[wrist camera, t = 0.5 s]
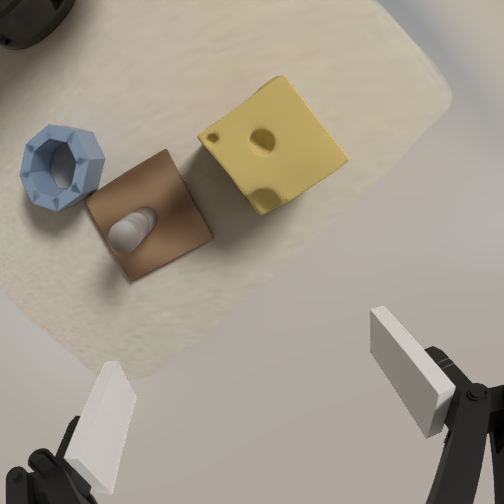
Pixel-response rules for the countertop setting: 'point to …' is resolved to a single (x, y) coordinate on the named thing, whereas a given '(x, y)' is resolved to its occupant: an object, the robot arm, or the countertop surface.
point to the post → (148, 216)
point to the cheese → (273, 146)
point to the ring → (39, 162)
